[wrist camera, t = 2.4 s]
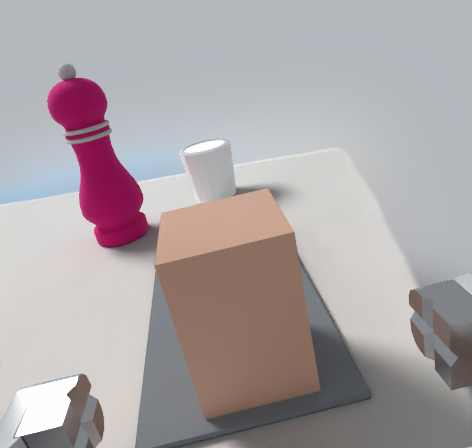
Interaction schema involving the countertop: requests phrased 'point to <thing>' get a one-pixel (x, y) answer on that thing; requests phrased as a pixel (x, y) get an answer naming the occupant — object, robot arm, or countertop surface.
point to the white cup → (209, 169)
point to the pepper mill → (97, 161)
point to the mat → (197, 428)
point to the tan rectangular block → (237, 302)
